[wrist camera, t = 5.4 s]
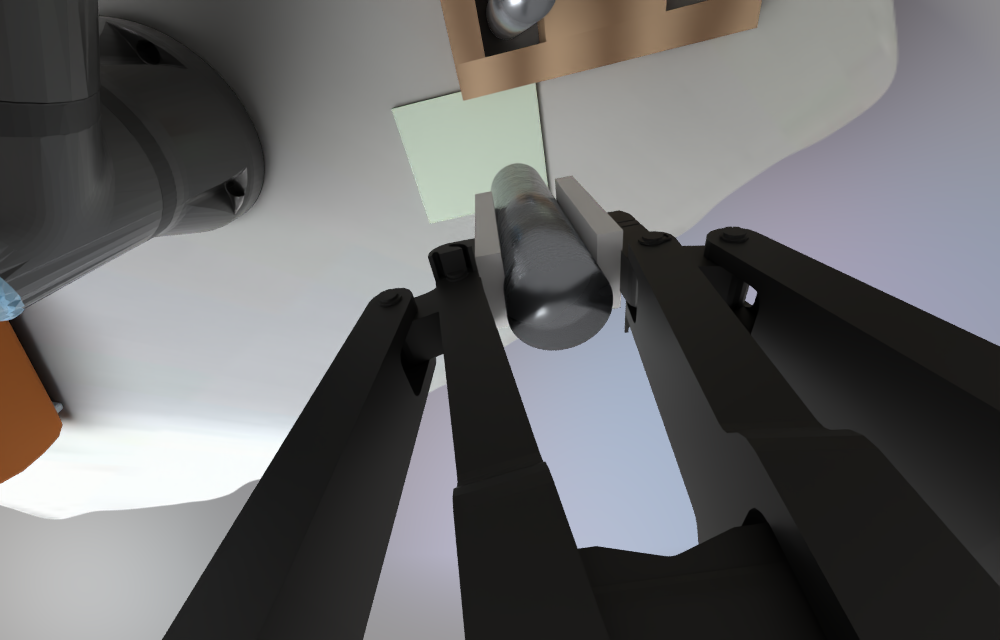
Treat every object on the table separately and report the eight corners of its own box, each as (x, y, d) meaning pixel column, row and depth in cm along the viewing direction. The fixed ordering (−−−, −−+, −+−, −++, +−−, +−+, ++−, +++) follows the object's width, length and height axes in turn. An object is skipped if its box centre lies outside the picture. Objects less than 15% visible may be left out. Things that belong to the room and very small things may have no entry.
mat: (430, 222, 35) (429, 223, 35) (392, 108, 29) (391, 109, 29) (548, 195, 34) (549, 196, 34) (533, 73, 29) (534, 73, 28)
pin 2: (495, 222, 21) (514, 357, 11) (485, 169, 19) (498, 271, 9) (546, 212, 20) (612, 341, 11) (541, 158, 19) (614, 250, 9)
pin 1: (491, 44, 27) (503, 30, 18) (482, -7, 26) (490, -54, 16) (528, 34, 27) (562, 15, 17) (522, -18, 25) (556, -72, 16)
